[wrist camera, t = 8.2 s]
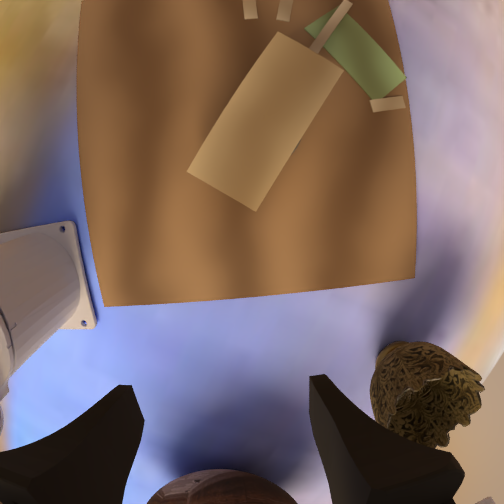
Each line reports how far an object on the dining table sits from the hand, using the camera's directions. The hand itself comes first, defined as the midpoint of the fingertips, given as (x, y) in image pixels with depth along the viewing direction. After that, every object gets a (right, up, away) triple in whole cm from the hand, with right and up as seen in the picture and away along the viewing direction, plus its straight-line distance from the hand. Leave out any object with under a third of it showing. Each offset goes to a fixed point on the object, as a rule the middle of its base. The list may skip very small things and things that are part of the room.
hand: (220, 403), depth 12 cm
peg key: (+4, +16, +5) cm, 17 cm away
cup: (+12, -2, +11) cm, 17 cm away
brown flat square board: (+1, +14, +7) cm, 16 cm away
